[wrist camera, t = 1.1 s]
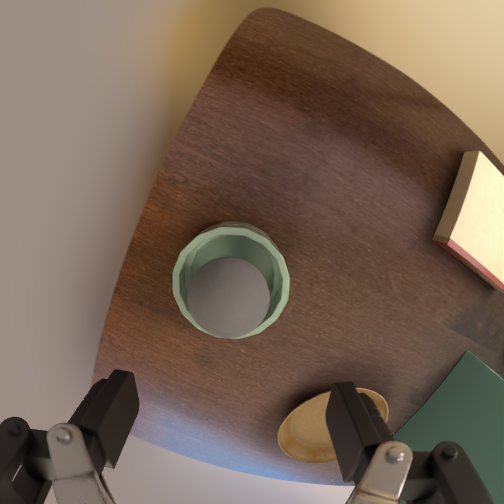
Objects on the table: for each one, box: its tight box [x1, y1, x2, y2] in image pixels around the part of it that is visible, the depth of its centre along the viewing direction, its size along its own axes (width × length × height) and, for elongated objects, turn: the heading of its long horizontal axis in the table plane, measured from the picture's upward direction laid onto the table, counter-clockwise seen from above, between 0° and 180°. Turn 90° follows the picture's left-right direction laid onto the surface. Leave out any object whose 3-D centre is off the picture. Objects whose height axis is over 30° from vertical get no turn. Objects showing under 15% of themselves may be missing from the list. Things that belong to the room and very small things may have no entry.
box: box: [393, 350, 504, 504], centre depth 22 cm, size 23×21×26 cm
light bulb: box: [187, 257, 270, 338], centre depth 23 cm, size 6×6×10 cm
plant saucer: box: [278, 387, 389, 463], centre depth 32 cm, size 15×15×3 cm
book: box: [432, 150, 504, 293], centre depth 26 cm, size 16×12×3 cm
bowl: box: [173, 221, 290, 339], centre depth 26 cm, size 10×10×5 cm
